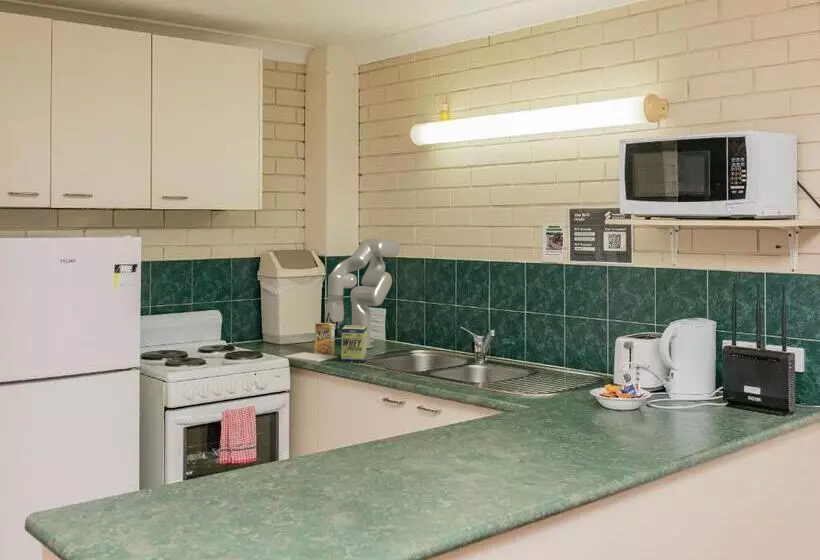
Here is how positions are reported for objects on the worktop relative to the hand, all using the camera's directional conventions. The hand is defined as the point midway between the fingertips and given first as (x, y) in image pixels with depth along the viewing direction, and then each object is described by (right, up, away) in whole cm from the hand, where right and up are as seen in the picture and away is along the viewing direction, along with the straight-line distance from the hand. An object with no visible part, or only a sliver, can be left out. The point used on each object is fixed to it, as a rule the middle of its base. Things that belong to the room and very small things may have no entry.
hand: (334, 336), depth 444 cm
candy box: (-4, -9, -6) cm, 12 cm away
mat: (-10, -9, -15) cm, 21 cm away
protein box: (+11, -10, -18) cm, 24 cm away
